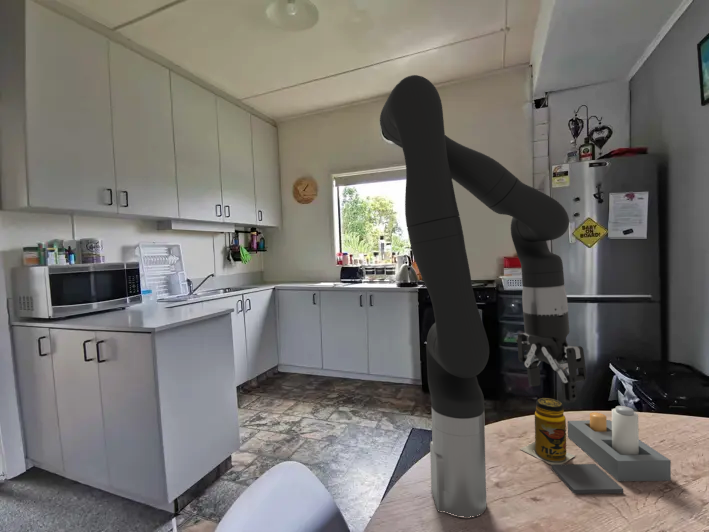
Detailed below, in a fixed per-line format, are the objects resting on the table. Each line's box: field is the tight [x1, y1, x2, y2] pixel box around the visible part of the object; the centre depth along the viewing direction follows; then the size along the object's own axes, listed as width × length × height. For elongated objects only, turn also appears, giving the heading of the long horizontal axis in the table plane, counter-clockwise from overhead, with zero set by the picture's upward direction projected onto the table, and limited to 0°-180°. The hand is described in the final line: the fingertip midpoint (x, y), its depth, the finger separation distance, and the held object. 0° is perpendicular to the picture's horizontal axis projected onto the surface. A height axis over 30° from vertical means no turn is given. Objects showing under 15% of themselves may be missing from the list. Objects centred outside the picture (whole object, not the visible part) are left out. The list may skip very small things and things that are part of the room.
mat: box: [550, 463, 624, 495], centre depth 70 cm, size 9×8×1 cm
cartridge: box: [611, 405, 640, 455], centre depth 74 cm, size 4×4×12 cm
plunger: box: [589, 411, 607, 432], centre depth 82 cm, size 3×3×5 cm
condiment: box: [520, 397, 576, 466], centre depth 79 cm, size 7×8×12 cm
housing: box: [567, 419, 672, 482], centre depth 77 cm, size 10×17×4 cm, turn 179°
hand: (551, 393), depth 68 cm, fingers open, 8 cm apart
